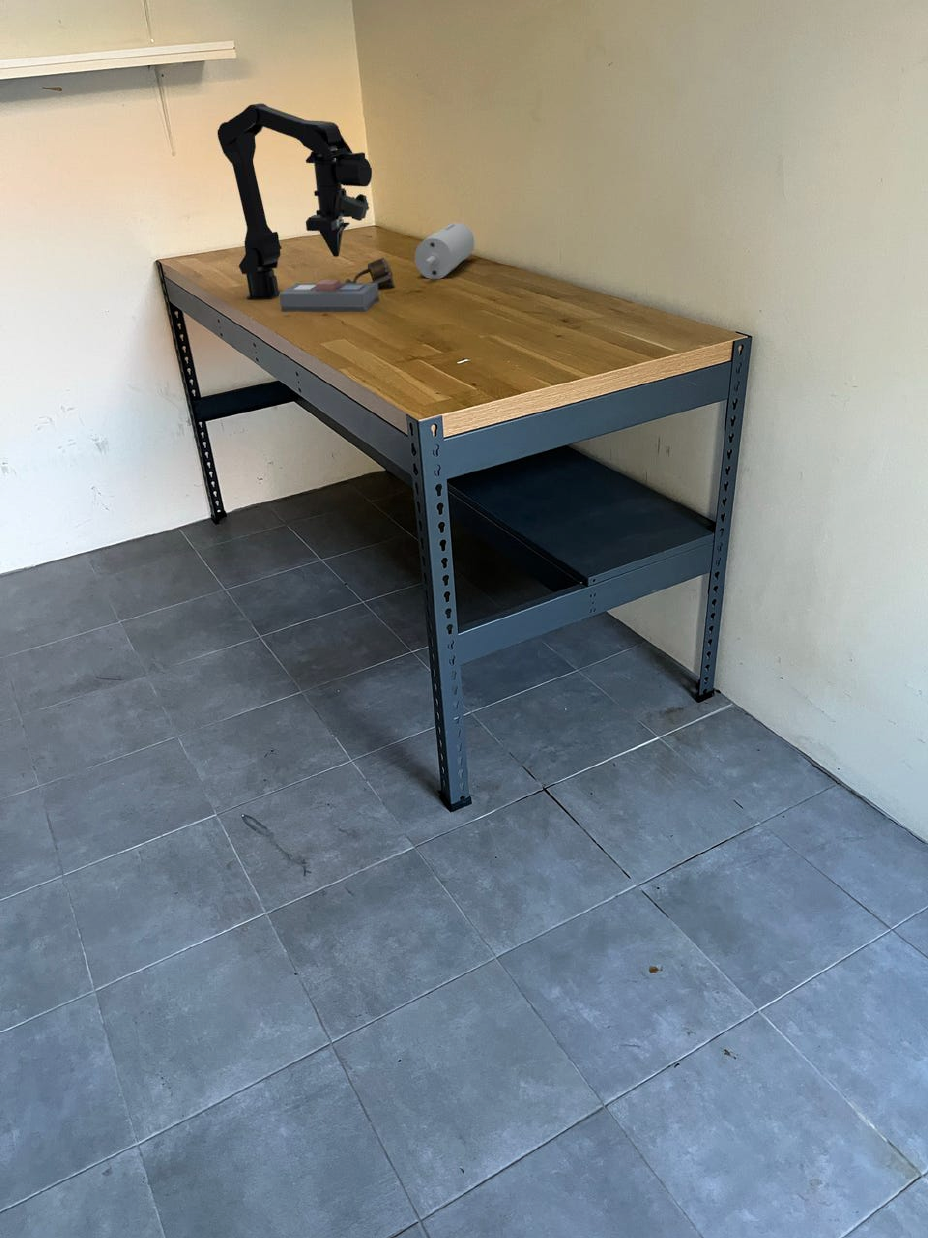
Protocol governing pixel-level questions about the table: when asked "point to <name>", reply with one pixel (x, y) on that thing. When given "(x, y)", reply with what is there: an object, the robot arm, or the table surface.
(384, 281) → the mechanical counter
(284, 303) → the key panel
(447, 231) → the motor
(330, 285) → the red key
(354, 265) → the table surface
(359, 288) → the blue key
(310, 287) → the white key
